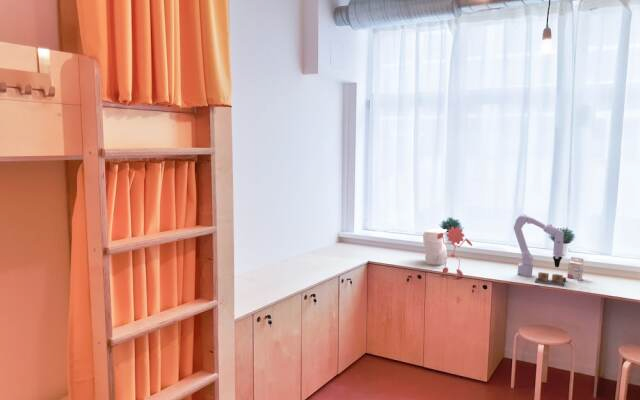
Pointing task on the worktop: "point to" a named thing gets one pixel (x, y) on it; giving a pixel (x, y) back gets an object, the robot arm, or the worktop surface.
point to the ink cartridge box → (575, 268)
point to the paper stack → (434, 247)
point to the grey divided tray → (549, 282)
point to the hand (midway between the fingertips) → (556, 267)
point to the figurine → (455, 237)
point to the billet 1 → (543, 276)
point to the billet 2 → (557, 278)
